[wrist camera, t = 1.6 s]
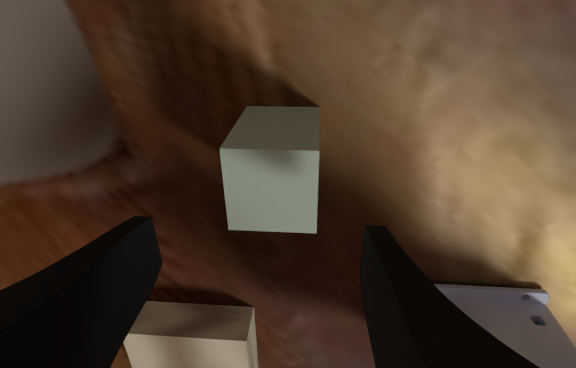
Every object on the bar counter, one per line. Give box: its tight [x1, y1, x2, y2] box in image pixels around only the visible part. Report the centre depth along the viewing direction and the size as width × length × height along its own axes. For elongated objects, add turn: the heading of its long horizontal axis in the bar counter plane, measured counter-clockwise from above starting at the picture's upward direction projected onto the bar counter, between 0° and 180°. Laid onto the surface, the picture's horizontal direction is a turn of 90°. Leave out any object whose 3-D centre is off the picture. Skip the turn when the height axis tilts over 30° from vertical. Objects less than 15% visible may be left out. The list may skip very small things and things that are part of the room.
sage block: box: [219, 106, 320, 234], centre depth 18 cm, size 4×4×6 cm
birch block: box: [123, 301, 259, 368], centre depth 28 cm, size 9×9×3 cm
